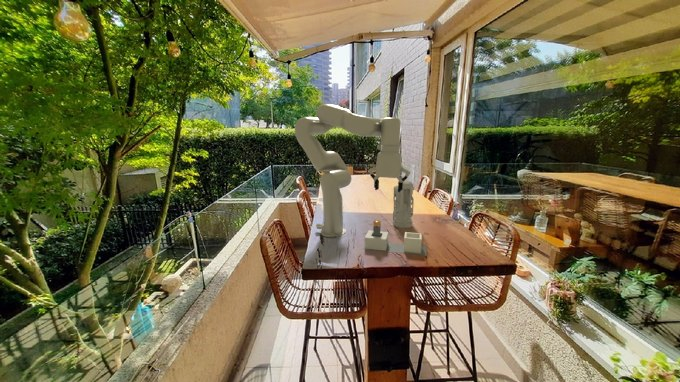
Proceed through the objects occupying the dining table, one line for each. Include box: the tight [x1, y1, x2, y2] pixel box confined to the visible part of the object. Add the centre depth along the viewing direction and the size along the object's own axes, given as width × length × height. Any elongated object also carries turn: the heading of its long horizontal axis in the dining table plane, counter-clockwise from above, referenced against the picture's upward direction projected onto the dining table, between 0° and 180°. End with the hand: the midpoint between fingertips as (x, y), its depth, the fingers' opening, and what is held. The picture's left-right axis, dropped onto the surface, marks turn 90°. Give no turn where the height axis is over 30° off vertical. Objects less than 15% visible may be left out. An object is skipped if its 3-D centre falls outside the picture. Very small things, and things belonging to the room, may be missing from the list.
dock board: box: [361, 229, 427, 259], centre depth 113 cm, size 26×10×7 cm, turn 74°
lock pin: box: [372, 219, 382, 237], centre depth 114 cm, size 3×3×11 cm
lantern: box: [392, 180, 415, 229], centre depth 140 cm, size 13×10×25 cm
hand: (388, 190), depth 112 cm, fingers open, 9 cm apart
